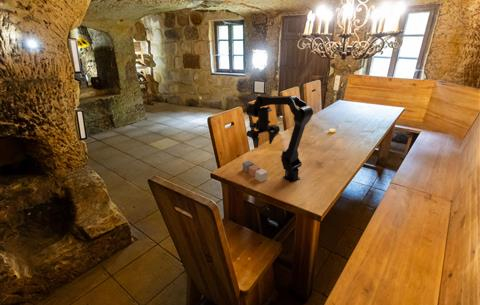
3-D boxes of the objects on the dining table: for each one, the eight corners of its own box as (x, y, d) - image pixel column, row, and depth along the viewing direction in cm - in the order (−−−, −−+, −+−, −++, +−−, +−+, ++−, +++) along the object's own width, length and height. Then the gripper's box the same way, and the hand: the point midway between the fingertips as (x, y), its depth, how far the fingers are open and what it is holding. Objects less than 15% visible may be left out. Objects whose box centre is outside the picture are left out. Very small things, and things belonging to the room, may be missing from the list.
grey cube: (253, 170, 144) (253, 163, 143) (247, 172, 142) (247, 165, 140) (249, 167, 148) (249, 160, 146) (242, 169, 146) (242, 162, 144)
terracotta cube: (260, 174, 140) (260, 167, 138) (253, 177, 138) (253, 169, 136) (255, 171, 143) (255, 164, 141) (248, 173, 141) (248, 166, 139)
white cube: (267, 179, 135) (267, 172, 133) (260, 182, 133) (260, 174, 131) (262, 176, 139) (262, 168, 137) (255, 178, 136) (255, 171, 135)
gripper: (268, 112, 149) (268, 138, 155) (240, 118, 140) (241, 145, 146) (280, 116, 140) (280, 143, 146) (252, 123, 131) (252, 151, 137)
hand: (263, 145), depth 144 cm, fingers open, 9 cm apart
